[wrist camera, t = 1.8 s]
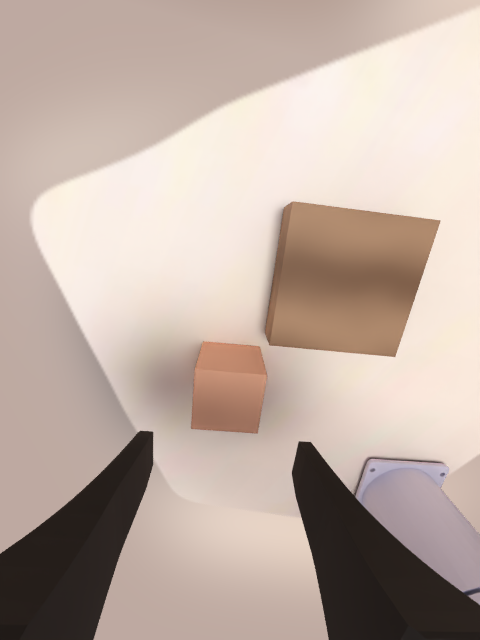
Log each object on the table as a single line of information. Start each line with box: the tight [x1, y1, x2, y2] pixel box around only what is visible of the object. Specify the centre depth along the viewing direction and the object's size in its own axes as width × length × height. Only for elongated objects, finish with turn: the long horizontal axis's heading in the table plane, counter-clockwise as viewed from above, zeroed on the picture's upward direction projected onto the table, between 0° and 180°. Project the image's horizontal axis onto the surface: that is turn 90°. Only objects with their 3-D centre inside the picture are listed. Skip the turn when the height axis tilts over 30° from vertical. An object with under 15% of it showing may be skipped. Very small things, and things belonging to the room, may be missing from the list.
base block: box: [265, 202, 440, 357], centre depth 17 cm, size 9×9×2 cm
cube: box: [191, 341, 267, 433], centre depth 18 cm, size 4×4×4 cm
